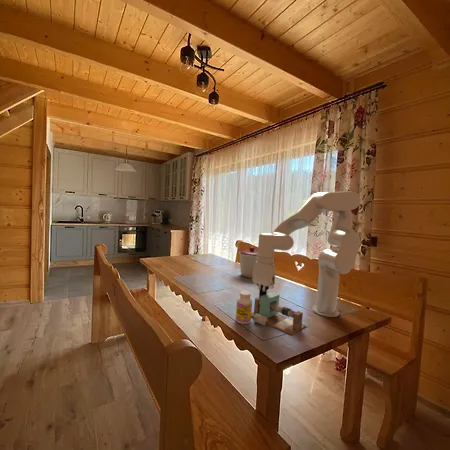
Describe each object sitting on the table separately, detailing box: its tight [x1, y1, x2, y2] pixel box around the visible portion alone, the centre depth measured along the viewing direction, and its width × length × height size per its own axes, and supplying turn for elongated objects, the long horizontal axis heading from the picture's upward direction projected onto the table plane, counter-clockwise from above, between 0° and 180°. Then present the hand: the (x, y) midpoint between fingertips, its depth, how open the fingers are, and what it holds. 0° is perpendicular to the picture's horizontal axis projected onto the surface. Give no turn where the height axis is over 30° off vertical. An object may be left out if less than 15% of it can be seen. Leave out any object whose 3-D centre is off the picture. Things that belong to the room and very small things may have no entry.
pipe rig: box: [251, 296, 307, 336], centre depth 116 cm, size 12×23×8 cm, turn 45°
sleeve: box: [253, 313, 268, 327], centre depth 113 cm, size 4×5×4 cm
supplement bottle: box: [235, 290, 253, 325], centre depth 113 cm, size 7×7×13 cm
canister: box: [238, 246, 258, 279], centre depth 185 cm, size 18×18×21 cm
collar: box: [259, 291, 280, 318], centre depth 118 cm, size 9×4×9 cm, turn 135°
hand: (262, 298), depth 121 cm, fingers closed
